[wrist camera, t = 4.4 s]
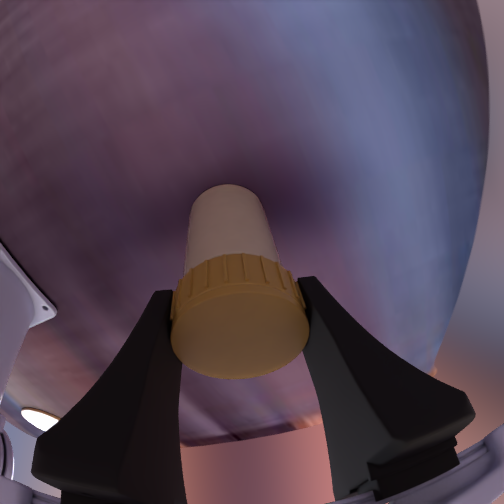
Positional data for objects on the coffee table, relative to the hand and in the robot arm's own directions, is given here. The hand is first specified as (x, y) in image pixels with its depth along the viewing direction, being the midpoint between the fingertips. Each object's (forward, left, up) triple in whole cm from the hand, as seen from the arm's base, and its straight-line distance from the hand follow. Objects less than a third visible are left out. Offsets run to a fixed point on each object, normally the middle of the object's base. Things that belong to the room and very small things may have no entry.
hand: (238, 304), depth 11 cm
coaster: (+17, -37, -6) cm, 41 cm away
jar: (0, 0, -6) cm, 6 cm away
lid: (0, 0, +1) cm, 1 cm away
